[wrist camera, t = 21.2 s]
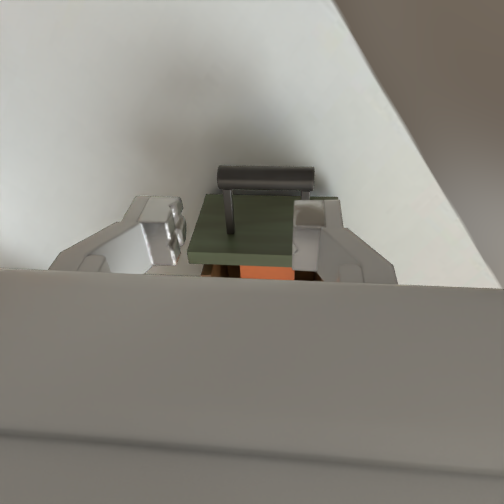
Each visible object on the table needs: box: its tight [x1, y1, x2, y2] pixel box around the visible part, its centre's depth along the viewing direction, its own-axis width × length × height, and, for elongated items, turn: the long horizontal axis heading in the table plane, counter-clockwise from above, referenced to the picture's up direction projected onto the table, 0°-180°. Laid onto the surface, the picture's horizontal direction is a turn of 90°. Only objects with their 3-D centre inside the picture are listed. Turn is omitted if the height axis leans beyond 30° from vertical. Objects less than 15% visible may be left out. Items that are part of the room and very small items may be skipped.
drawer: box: [187, 165, 338, 282], centre depth 34 cm, size 19×11×8 cm, turn 2°
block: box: [240, 266, 295, 280], centre depth 35 cm, size 4×4×4 cm
